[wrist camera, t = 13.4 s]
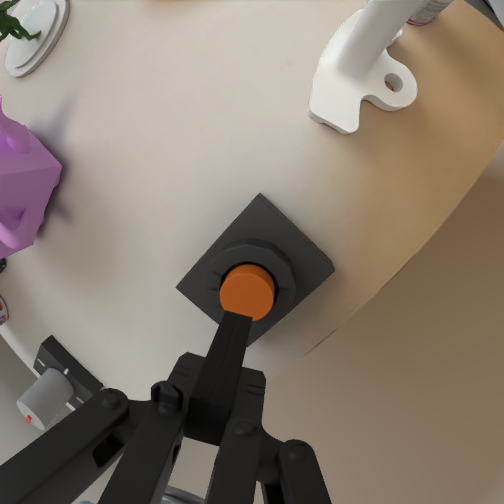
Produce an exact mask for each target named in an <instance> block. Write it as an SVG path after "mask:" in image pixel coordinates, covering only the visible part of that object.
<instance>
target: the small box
mask: <svg viewBox="0 0 504 504" xmlns="http://www.w3.org/2000/svg"><path fill="white" fill-rule="evenodd" d="M5 267H6V264H5V261H4V259H3V258H2V259H0V273H1V271H2V270H3V269H4V268H5Z"/></svg>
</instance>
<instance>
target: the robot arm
mask: <svg viewBox="0 0 504 504" xmlns="http://www.w3.org/2000/svg"><path fill="white" fill-rule="evenodd" d="M252 319H253V317H249V316H246V315H242V314H238V313H234V312H230V311H227V310H225V312H224V315H223V317H222V320H221V322H220V324H219V327H218V329H217V332H216V334H215V337H214V339H213V341H212V344H211V346H210V349H209V351H208V354H207V356H206V357H202V356H199V355H196V354H192V353H189V352H186V353H185V354H183V355H182V356H180V357H179V359H178V361H177V363H176V365H175V366H174V368H173V370H172V372H171V374H170V376H169V378H168V380H167V381H160V382H157V383H155V384H154V385H153V386H152V387H151V400H148V401H137V400H129V399H128V398H127V396H126V395H125V394H124V393H123V392H122V391H119V390H117V389H112V388H108V389H103V390H101V391H99V392H98V393H96V394H95V395H94V396H93V397H91V398H90V399H89V400H87V401H86V402H85V403H83V404H82V405H81V406H80V407H78V408H77V409H76V410H74V411H73V412H72V413H70V414H69V415H68V416H67V417H65V418H64V419H63V420H61V421H60V422H59V423H57V424H56V425H55V426H53V427H52V428H51V429H49V430H48V431H47V432H46V433H44V434H43V435H41V436H40V437H39V438H38V439H36V440H35V441H33V442H32V443H31V444H29V445H28V446H27V447H26V448H24V449H23V450H21V451H20V452H19V453H17V454H16V455H15V456H13V457H12V458H10V459H9V460H8V461H6V462H5V463H4V464H2V465H1V466H0V504H71V503H72V502H73V501H74V500H75V499H77V498H78V496H80V495H81V494H82V493H83V492H84V491H85V490H86V489H87V488H88V487H89V486H90V485H91V484H92V483H93V482H94V481H95V480H96V479H97V478H99V477H100V475H102V474H103V473H104V471H106V470H107V469H108V468H109V466H111V465H112V464H113V463H114V462H115V461H116V460H117V459H118V458H119V457H120V456H121V455H122V454H123V455H122V457H121V459H120V461H119V463H118V465H117V466H116V469H115V471H114V472H113V474H112V476H111V478H110V480H109V482H108V484H107V486H106V488H105V490H104V492H103V494H102V496H101V497H100V500H99V501H98V503H97V504H190V503H187V502H185V501H183V500H180V499H177V498H174V497H171V496H168V495H165V494H164V492H165V489H166V487H167V484H168V481H169V478H170V476H171V473H172V470H173V467H174V465H175V462H176V459H177V456H178V454H179V451H180V448H181V443H182V439H183V437H187V438H191V439H194V440H197V441H201V442H204V443H208V444H212V445H216V446H219V450H218V453H217V456H216V459H215V462H214V468H213V471H212V475H211V479H210V484H209V486H208V490H207V494H206V498H205V501H204V504H253V502H254V494H255V488H256V480H257V481H259V482H260V483H261V488H262V494H263V500H264V504H332V503H331V500H330V497H329V494H328V491H327V488H326V485H325V482H324V479H323V476H322V474H321V471H320V467H319V464H318V462H317V459H316V456H315V453H314V450H313V449H312V447H311V446H310V445H308V444H307V443H306V442H304V441H301V440H295V439H292V440H288V441H286V442H282V441H280V440H278V439H275V438H273V437H272V436H270V435H269V434H268V433H267V432H266V431H265V430H264V429H263V426H262V421H261V420H262V412H263V403H264V394H265V386H266V378H265V376H264V374H263V372H262V371H258V370H254V369H250V368H245V367H242V364H243V359H244V355H245V350H246V346H247V341H248V337H249V332H250V328H251V323H252ZM184 434H185V435H184ZM78 504H93V503H91V502H89V501H81V502H80V503H78Z"/></svg>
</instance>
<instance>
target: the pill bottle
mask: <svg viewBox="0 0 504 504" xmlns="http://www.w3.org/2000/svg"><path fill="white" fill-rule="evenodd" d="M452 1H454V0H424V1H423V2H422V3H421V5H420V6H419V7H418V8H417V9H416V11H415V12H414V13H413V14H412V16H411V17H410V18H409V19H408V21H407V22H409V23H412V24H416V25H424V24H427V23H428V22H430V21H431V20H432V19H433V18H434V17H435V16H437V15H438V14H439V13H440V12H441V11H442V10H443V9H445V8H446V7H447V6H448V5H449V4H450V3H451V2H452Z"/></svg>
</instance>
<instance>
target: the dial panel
mask: <svg viewBox="0 0 504 504" xmlns="http://www.w3.org/2000/svg"><path fill="white" fill-rule="evenodd" d="M33 368H34V369H35V370H36V371H37V372H38V373H39V374H40V375H41V376H42V375H43V374H44V373H45V372H46V371H47V370H48V369H49V368H54V369H56V370H58V371H60V372H61V373H62V374H63V375H64V376H65V377H66V378H67V379H68V380H69V382H70V383H71V385H72V387H73V389H74V394H73V395H72V396H71V398H70V399H69V400H68V401H67V402H68V403H70V404H71V405H72V406H73V407H74V408H75V409H77V408H78V407H80V406H81V405H82V404H83V403H85V402H86V401H87V400H89V399H90V398H91V397H93V396H94V395H95V394H96V393H98V392H99V391H100V390H101V388H102V387H103V385H102V384H101V383H100V382H99V381H98V380H97V379H96V378H94V377H93V376H92V375H91V374H90V373H89V372H88V371H87V370H86V369H85V368H84V367H82V366H81V365H80V364H79V363H78V362H77V361H76V360H75V359H74V358H73V357H72V356H71V355H70V354H69V353H68V352H67V351H66V350H65V349H64V348H63V347H62V346H61V345H60V344H59V343H58V341H57V340H56V339H55V338H54V337H53V336H52V335H51V336H49V337H48V338H47V339H46V340H45V341H44V342H42V343H41V345H40V348H39V351H38V354H37V357H36V360H35V363H34V366H33Z"/></svg>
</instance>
